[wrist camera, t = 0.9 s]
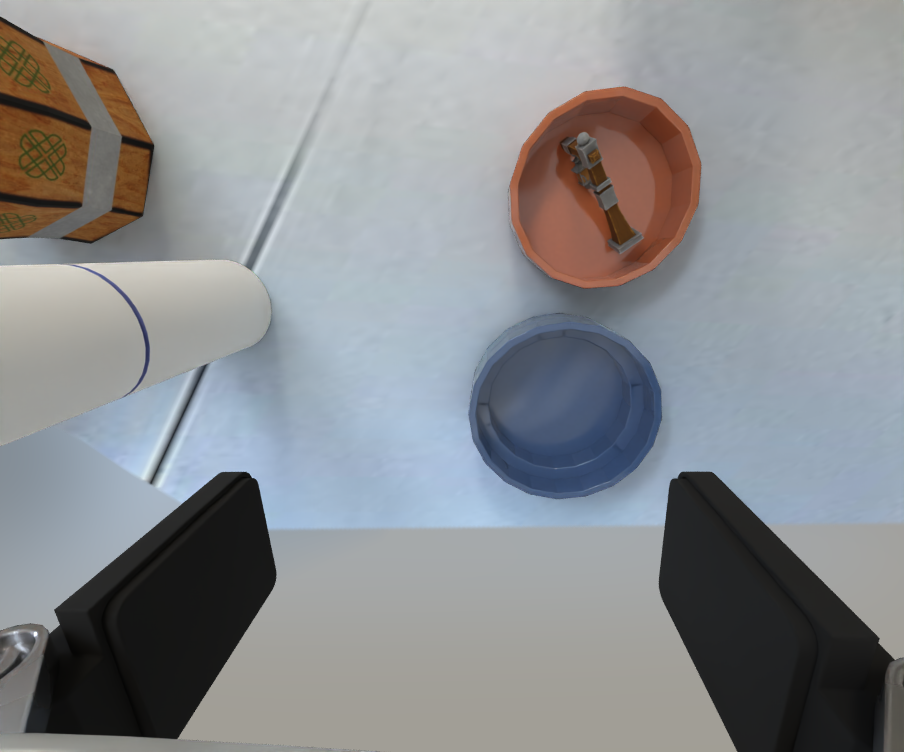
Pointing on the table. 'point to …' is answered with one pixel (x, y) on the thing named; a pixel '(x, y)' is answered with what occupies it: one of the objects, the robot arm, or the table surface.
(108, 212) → the mug
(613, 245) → the wooden post with brackets
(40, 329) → the cylindrical container
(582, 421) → the bowl
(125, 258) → the table surface
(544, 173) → the shallow terracotta dish
